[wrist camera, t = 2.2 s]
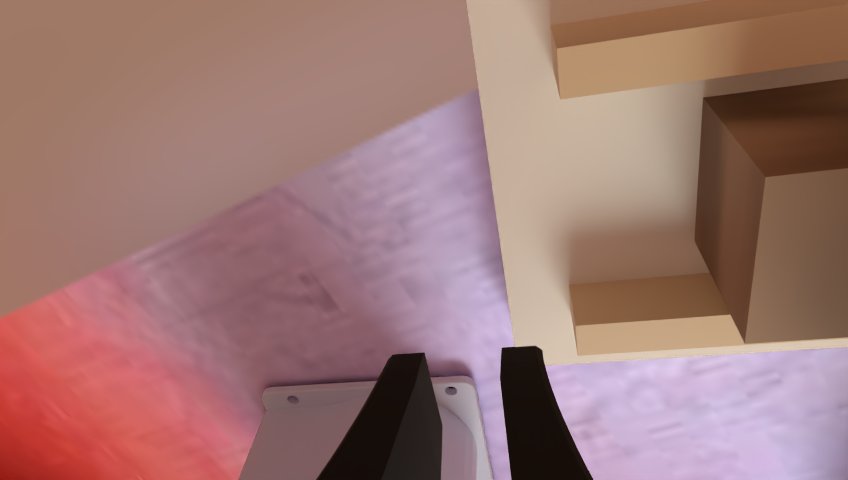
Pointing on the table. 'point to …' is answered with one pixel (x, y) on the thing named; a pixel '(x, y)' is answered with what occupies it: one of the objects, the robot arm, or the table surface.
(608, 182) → the channel deck
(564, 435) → the robot arm
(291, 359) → the table surface
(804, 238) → the walnut block
